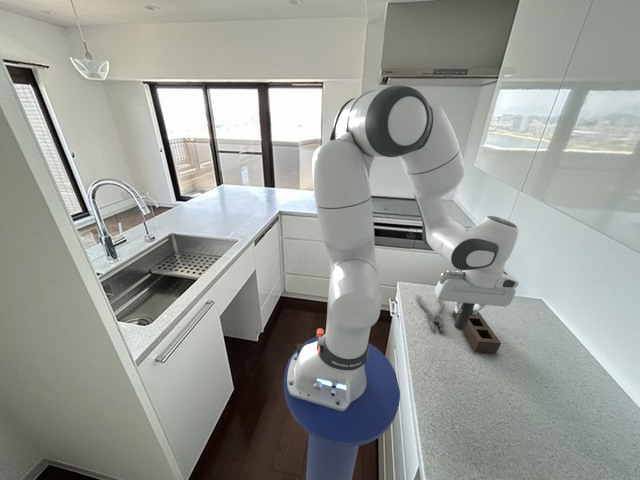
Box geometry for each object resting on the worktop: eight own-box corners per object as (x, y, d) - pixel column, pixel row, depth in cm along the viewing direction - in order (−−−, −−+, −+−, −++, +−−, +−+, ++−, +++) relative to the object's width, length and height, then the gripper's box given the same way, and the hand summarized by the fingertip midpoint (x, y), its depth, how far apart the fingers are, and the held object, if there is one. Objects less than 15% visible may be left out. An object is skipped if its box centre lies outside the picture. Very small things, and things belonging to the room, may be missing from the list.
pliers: (439, 296, 107) (461, 332, 89) (438, 298, 108) (461, 334, 90) (416, 295, 107) (434, 330, 89) (415, 296, 108) (433, 332, 90)
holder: (474, 352, 83) (479, 341, 81) (452, 314, 99) (456, 304, 97) (495, 354, 83) (501, 343, 81) (470, 316, 99) (474, 306, 97)
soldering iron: (456, 329, 77) (472, 289, 71) (452, 322, 80) (467, 283, 74) (466, 330, 77) (483, 290, 71) (462, 323, 80) (478, 284, 73)
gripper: (447, 276, 68) (433, 316, 74) (525, 283, 67) (505, 323, 73) (438, 264, 73) (426, 302, 79) (510, 270, 73) (493, 308, 79)
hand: (465, 312), depth 76 cm, fingers closed on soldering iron, 3 cm apart
